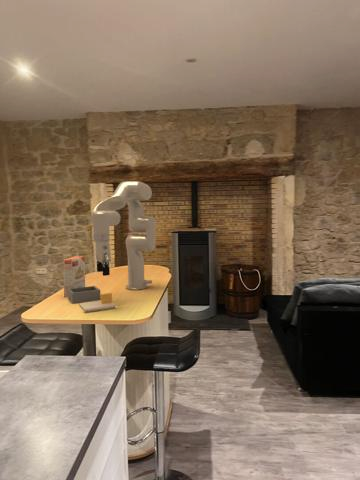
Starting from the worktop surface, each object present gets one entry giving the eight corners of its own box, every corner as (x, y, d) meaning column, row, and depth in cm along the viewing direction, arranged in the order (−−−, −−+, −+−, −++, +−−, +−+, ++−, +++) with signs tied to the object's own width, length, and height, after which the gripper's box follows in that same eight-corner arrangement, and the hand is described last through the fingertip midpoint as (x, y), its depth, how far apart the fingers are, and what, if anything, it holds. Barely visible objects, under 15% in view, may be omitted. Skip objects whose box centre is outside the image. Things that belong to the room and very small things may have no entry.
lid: (108, 302, 177) (108, 290, 177) (116, 308, 167) (115, 295, 166) (79, 307, 170) (78, 294, 170) (84, 313, 160) (84, 299, 160)
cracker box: (74, 298, 186) (72, 259, 184) (63, 298, 187) (62, 259, 185) (86, 292, 199) (85, 255, 197) (76, 292, 200) (75, 255, 199)
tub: (95, 296, 190) (94, 285, 189) (100, 301, 180) (100, 289, 179) (68, 300, 183) (67, 288, 182) (72, 305, 173) (72, 293, 173)
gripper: (114, 239, 161) (116, 275, 163) (104, 235, 176) (105, 269, 178) (98, 240, 158) (100, 278, 160) (89, 236, 173) (90, 271, 175)
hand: (103, 273), depth 169 cm, fingers open, 9 cm apart
